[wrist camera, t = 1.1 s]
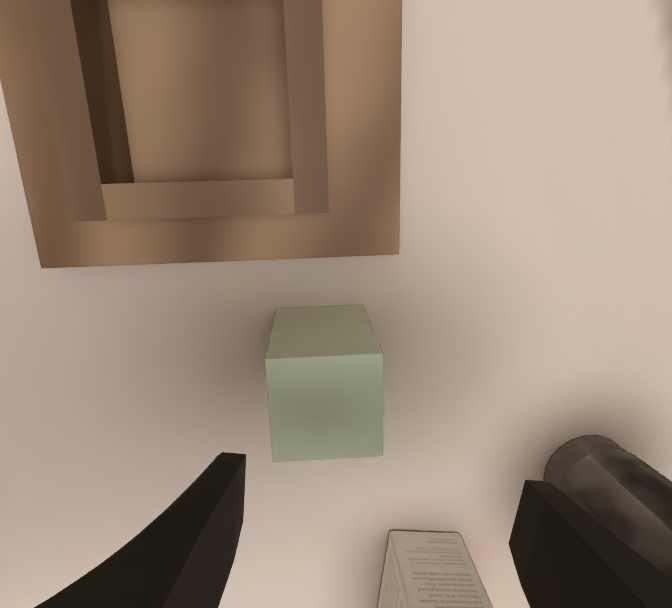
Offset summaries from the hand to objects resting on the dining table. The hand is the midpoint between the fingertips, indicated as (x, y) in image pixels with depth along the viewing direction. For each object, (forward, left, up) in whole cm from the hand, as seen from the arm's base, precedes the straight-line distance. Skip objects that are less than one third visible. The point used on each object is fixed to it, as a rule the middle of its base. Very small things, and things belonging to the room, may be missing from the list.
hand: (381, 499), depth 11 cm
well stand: (-5, +11, -10) cm, 16 cm away
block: (-1, 0, -10) cm, 10 cm away
